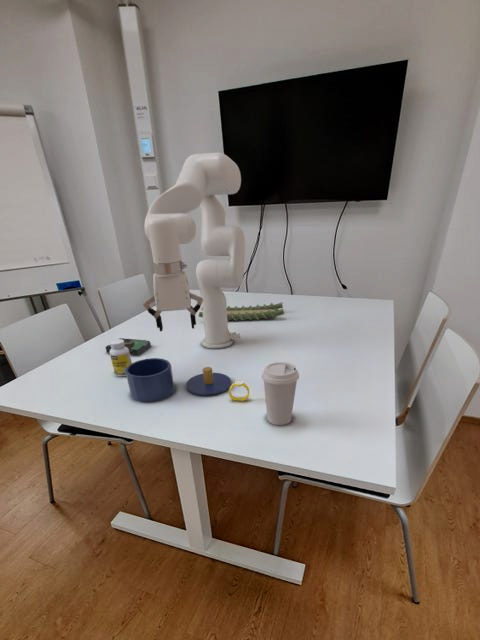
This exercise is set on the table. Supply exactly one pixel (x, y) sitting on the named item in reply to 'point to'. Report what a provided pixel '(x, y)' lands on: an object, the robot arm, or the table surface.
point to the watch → (238, 383)
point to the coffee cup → (280, 391)
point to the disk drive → (133, 346)
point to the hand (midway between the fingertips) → (177, 328)
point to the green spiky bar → (253, 312)
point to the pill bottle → (119, 357)
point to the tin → (150, 379)
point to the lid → (208, 383)
